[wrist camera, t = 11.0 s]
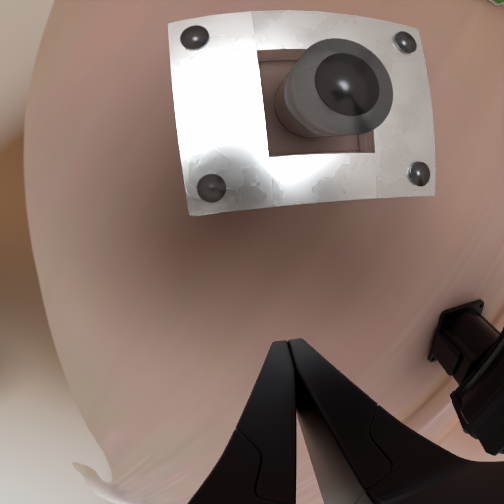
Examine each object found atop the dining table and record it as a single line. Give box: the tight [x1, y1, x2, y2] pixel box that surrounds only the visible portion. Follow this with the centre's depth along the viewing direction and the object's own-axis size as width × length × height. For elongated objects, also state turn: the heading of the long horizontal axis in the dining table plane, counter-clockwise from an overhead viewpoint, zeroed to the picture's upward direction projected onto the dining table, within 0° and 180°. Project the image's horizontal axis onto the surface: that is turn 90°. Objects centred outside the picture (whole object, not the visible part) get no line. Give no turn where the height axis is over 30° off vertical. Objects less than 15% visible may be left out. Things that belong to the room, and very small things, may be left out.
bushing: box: [274, 38, 393, 138], centre depth 13 cm, size 4×4×7 cm
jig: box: [168, 10, 435, 217], centre depth 15 cm, size 16×12×3 cm
